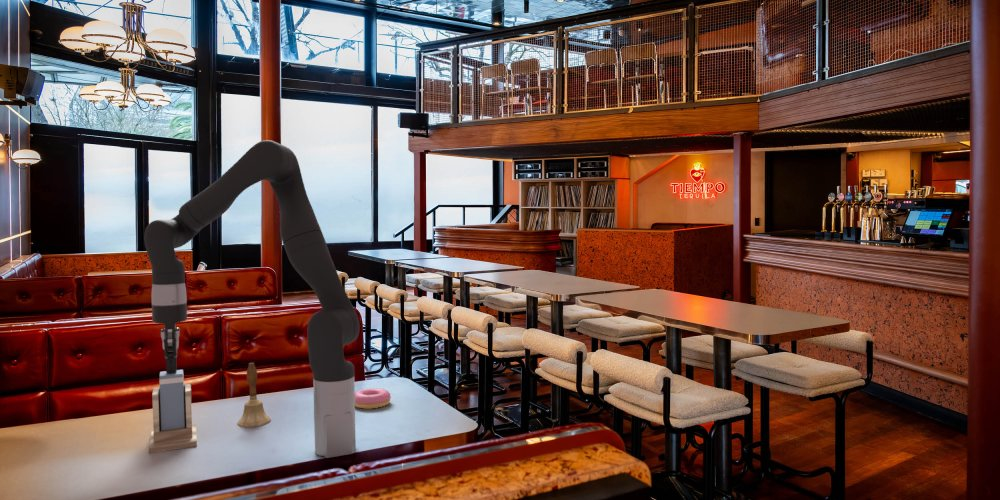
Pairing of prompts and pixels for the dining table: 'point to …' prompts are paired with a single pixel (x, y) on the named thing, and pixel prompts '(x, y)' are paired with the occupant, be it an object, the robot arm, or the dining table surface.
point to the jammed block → (172, 400)
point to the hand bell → (253, 403)
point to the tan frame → (174, 436)
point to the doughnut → (372, 398)
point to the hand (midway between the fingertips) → (171, 372)
